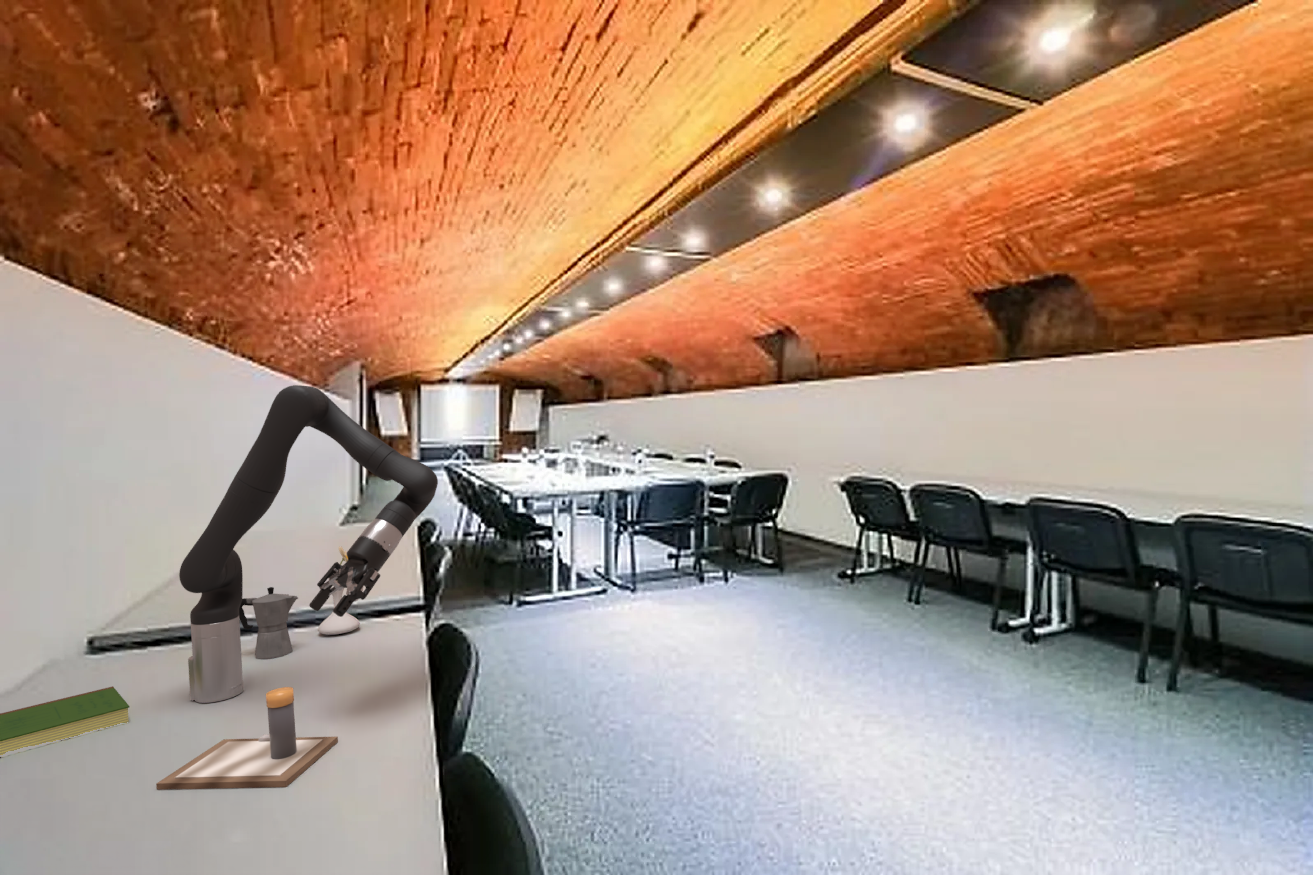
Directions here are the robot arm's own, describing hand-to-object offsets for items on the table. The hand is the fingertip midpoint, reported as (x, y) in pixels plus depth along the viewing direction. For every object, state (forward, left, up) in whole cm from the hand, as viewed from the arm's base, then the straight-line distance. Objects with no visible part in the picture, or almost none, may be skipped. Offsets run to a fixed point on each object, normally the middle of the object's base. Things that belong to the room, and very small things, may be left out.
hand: (324, 611), depth 135 cm
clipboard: (-5, -17, -22) cm, 28 cm away
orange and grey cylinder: (0, -16, -21) cm, 26 cm away
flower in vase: (-33, +65, -22) cm, 76 cm away
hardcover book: (-59, -1, -23) cm, 63 cm away
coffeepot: (-42, +45, -22) cm, 65 cm away
